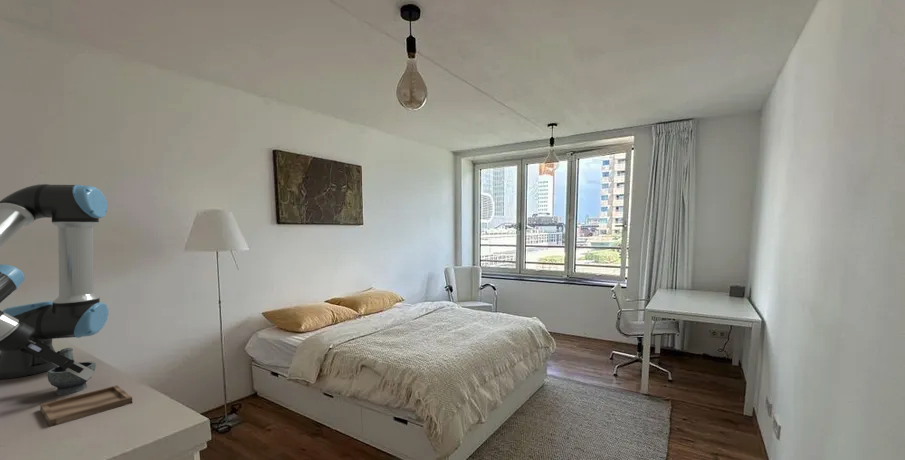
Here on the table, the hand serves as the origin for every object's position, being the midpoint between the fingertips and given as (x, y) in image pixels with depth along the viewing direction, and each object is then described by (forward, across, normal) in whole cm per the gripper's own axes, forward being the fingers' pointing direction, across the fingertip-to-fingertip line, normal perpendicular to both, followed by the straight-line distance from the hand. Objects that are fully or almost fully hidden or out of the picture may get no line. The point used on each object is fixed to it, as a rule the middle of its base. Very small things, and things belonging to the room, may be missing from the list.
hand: (84, 372), depth 110 cm
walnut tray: (0, +20, -6) cm, 21 cm away
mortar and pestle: (+1, 0, -5) cm, 5 cm away
